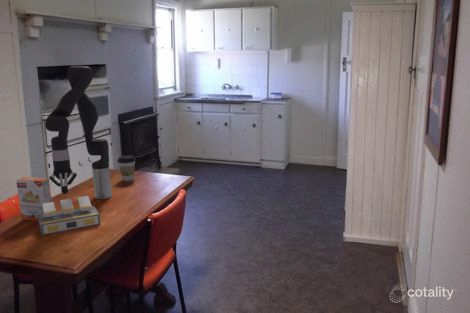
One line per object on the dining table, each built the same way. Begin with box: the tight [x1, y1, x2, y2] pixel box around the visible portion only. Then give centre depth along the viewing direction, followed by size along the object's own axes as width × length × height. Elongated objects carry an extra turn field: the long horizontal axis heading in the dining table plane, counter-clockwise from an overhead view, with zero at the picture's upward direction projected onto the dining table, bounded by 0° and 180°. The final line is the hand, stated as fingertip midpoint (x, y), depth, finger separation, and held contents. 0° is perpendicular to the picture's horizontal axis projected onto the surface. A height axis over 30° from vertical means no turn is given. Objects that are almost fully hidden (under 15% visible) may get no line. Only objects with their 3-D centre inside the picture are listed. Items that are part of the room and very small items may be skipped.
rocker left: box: [42, 201, 57, 218], centre depth 213 cm, size 9×5×2 cm, turn 28°
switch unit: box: [38, 205, 101, 236], centre depth 216 cm, size 14×26×6 cm, turn 117°
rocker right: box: [77, 195, 93, 212], centre depth 220 cm, size 9×5×2 cm, turn 28°
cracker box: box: [16, 176, 52, 222], centre depth 223 cm, size 14×6×21 cm, turn 78°
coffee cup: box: [117, 154, 136, 182], centre depth 288 cm, size 11×11×15 cm
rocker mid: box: [59, 198, 75, 215], centre depth 217 cm, size 9×5×2 cm, turn 28°
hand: (64, 193), depth 218 cm, fingers closed
